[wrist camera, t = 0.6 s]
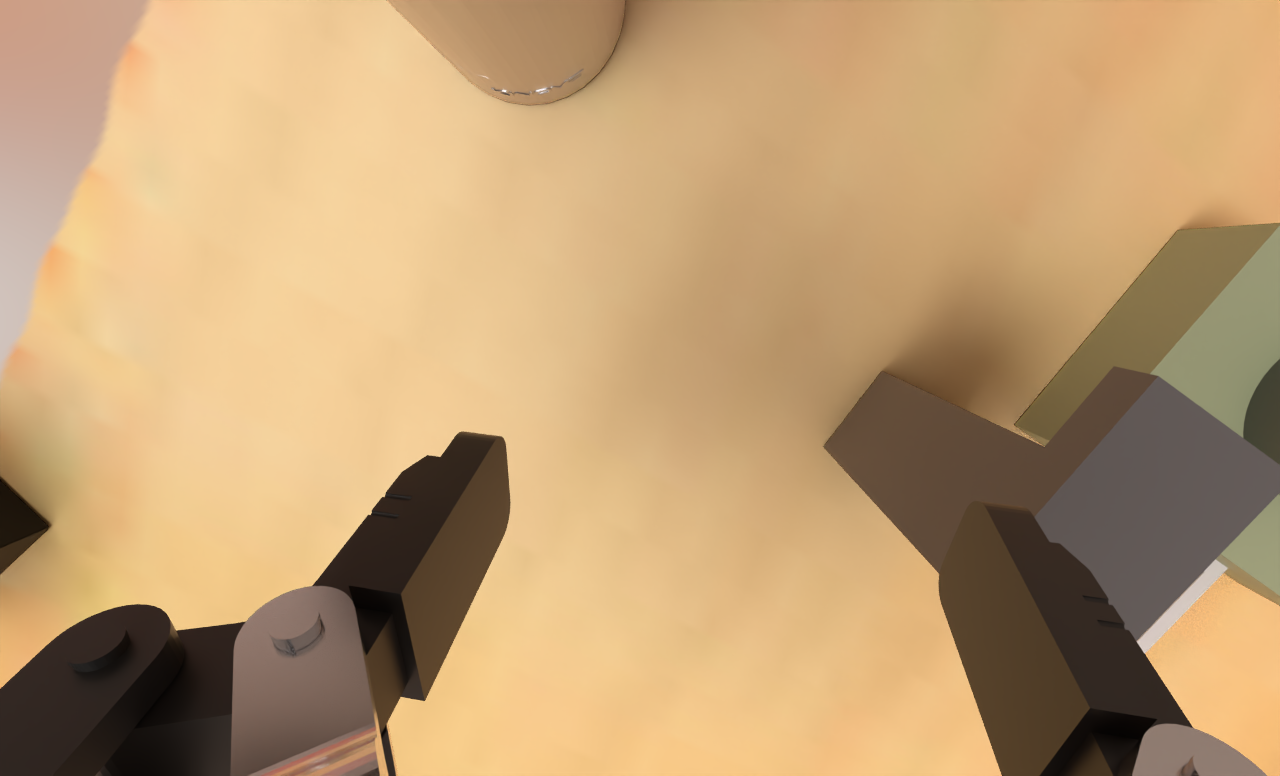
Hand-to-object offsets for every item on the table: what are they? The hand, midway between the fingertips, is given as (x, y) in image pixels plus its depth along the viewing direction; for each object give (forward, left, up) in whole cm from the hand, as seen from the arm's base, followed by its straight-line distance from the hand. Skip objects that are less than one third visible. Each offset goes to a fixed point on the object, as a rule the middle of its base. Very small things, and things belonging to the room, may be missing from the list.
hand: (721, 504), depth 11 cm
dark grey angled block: (+5, +11, -21) cm, 25 cm away
